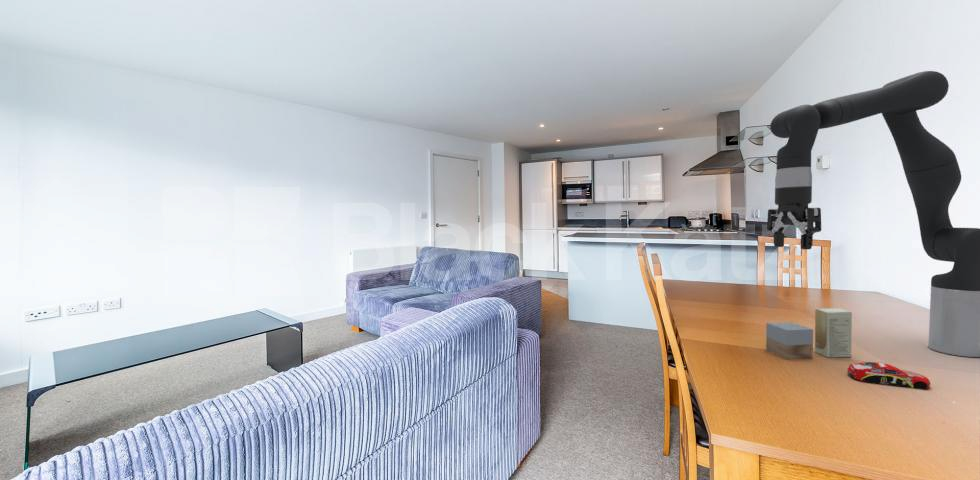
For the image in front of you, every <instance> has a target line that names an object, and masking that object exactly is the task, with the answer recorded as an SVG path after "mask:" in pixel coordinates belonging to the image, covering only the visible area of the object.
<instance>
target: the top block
mask: <svg viewBox="0 0 980 480" xmlns="http://www.w3.org/2000/svg"><path fill="white" fill-rule="evenodd" d="M765 330H766V331H765V335H766V336H765V337H768V338H770V339H773V340H775V341H777V342H780V343H782V344H785V345H811V344H813V345H814V329H813V328H810V327H808V326H804V325H801V324H798V323H795V322H791V321H783V322H782V321H781V322H766V329H765Z"/></svg>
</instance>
